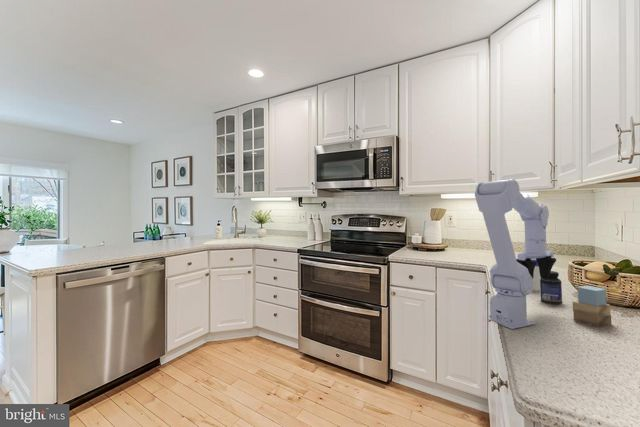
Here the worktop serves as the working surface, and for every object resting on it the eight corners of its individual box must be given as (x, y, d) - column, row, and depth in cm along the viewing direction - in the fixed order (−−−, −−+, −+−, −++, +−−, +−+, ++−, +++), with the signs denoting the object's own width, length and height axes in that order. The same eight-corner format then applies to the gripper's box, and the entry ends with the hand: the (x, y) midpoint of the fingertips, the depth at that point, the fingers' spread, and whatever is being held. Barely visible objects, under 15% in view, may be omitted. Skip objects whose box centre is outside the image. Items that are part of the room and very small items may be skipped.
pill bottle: (566, 304, 99) (565, 273, 99) (546, 304, 100) (545, 273, 100) (555, 299, 105) (554, 270, 105) (537, 299, 106) (536, 270, 106)
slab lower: (598, 328, 80) (597, 317, 80) (573, 320, 86) (573, 311, 86) (611, 325, 82) (611, 315, 82) (586, 318, 88) (586, 308, 88)
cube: (596, 306, 81) (596, 290, 81) (578, 301, 85) (577, 287, 85) (606, 304, 82) (606, 289, 82) (587, 300, 87) (587, 285, 87)
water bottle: (554, 290, 116) (552, 230, 116) (536, 291, 115) (534, 231, 115) (536, 285, 125) (534, 229, 125) (519, 286, 123) (517, 230, 123)
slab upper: (597, 318, 80) (596, 307, 80) (572, 311, 86) (572, 301, 86) (610, 315, 82) (610, 304, 82) (585, 308, 88) (585, 299, 88)
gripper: (532, 242, 89) (533, 284, 89) (563, 239, 93) (564, 279, 93) (511, 240, 95) (512, 279, 95) (540, 237, 100) (542, 275, 100)
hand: (536, 279), depth 95 cm, fingers open, 7 cm apart
